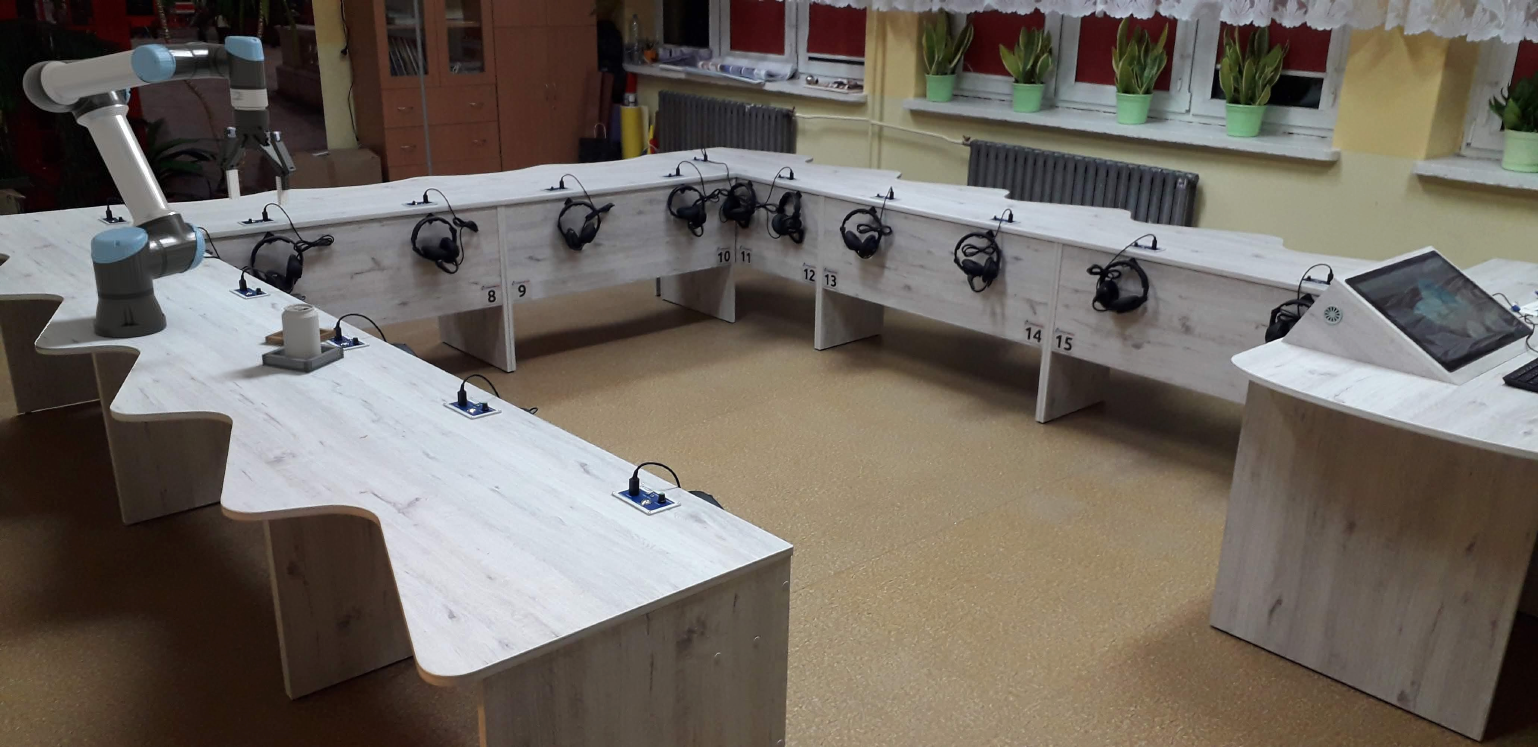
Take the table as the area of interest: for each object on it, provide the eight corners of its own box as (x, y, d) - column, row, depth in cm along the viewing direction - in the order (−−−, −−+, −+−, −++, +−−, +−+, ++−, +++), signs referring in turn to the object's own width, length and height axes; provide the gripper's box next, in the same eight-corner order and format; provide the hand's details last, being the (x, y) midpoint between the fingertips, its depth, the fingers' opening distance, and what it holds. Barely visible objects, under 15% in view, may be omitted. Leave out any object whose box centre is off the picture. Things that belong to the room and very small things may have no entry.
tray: (262, 365, 246) (261, 354, 245) (299, 350, 257) (298, 340, 256) (309, 373, 243) (308, 362, 242) (344, 357, 254) (343, 347, 253)
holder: (265, 342, 261) (265, 336, 260) (297, 330, 271) (296, 324, 270) (305, 349, 258) (305, 342, 258) (336, 336, 268) (335, 330, 268)
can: (309, 364, 246) (304, 312, 242) (278, 361, 247) (273, 309, 243) (328, 354, 253) (324, 303, 249) (298, 351, 254) (293, 300, 250)
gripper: (192, 105, 252) (202, 198, 258) (285, 113, 245) (293, 209, 252) (216, 102, 258) (226, 193, 265) (307, 111, 252) (315, 204, 259)
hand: (259, 201), depth 259 cm, fingers open, 13 cm apart
